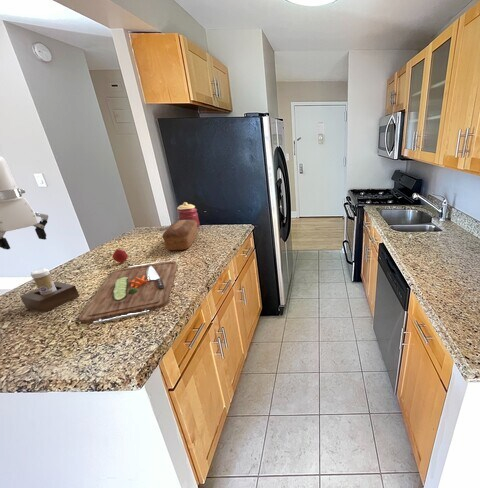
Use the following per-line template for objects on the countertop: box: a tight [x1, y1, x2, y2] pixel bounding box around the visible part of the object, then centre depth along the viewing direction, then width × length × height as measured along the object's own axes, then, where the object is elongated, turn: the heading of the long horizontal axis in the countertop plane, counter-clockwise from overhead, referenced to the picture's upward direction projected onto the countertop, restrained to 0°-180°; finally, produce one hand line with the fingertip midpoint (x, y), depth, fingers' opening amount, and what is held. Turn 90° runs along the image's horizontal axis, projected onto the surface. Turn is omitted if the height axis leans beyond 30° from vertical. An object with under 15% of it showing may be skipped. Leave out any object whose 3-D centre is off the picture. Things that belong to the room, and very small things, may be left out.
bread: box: [162, 219, 199, 251], centre depth 154 cm, size 14×28×12 cm, turn 12°
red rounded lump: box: [112, 248, 129, 264], centre depth 130 cm, size 6×6×8 cm
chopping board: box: [78, 260, 178, 325], centre depth 109 cm, size 45×27×3 cm, turn 22°
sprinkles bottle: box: [30, 268, 57, 296], centre depth 98 cm, size 5×5×13 cm
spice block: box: [19, 281, 80, 313], centre depth 99 cm, size 11×11×5 cm
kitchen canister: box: [176, 201, 201, 228], centre depth 183 cm, size 13×13×18 cm
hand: (25, 243), depth 91 cm, fingers open, 9 cm apart
